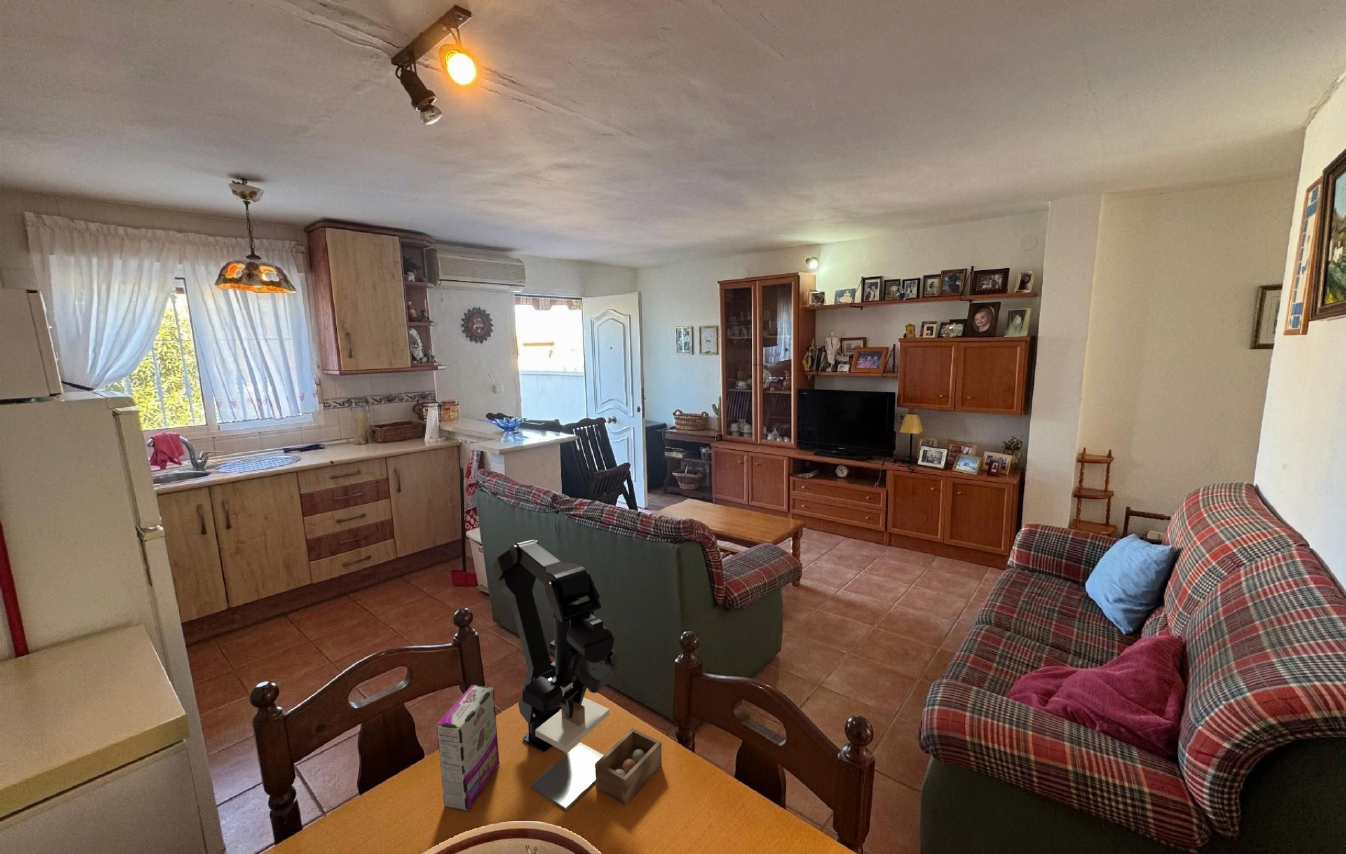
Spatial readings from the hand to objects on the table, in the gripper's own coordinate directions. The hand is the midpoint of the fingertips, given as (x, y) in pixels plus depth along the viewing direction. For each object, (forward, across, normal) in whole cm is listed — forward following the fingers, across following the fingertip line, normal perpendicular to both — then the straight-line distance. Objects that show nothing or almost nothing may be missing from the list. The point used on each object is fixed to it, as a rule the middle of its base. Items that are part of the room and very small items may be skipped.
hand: (572, 714), depth 100 cm
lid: (+2, 0, 0) cm, 2 cm away
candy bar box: (+13, -12, +14) cm, 23 cm away
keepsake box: (+12, +5, -9) cm, 16 cm away
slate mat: (+12, 0, 0) cm, 12 cm away
